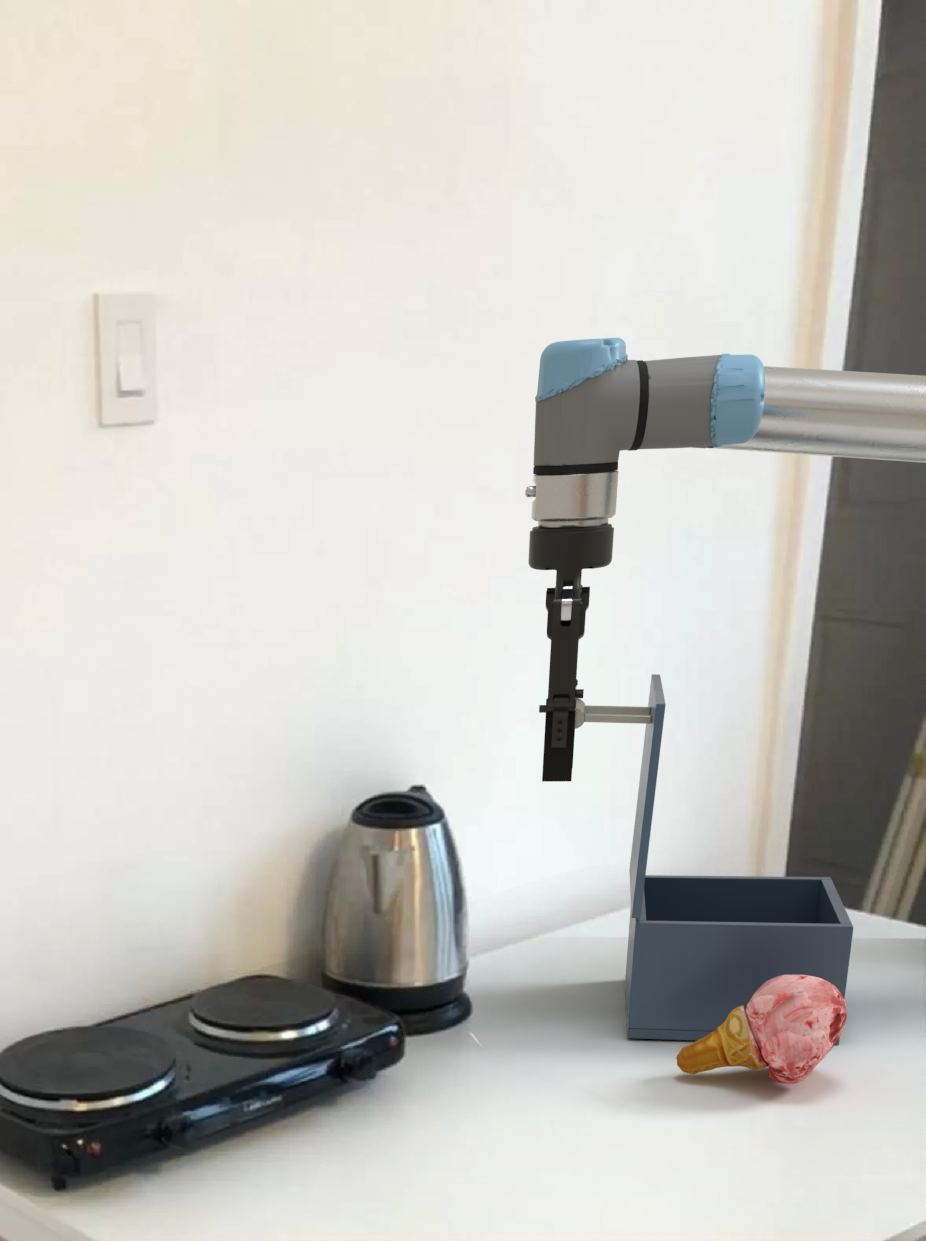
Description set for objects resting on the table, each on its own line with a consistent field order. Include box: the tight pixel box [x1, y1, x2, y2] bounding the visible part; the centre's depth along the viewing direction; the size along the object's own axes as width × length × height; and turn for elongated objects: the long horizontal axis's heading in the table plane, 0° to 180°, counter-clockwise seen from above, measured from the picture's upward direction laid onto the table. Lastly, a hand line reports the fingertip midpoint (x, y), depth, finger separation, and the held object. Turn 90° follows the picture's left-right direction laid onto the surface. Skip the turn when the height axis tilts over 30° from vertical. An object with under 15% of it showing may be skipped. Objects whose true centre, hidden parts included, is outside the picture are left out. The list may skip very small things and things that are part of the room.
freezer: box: [624, 874, 854, 1046], centre depth 176 cm, size 19×19×12 cm
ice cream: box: [676, 975, 848, 1085], centre depth 160 cm, size 11×10×15 cm
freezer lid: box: [574, 673, 666, 918], centre depth 173 cm, size 20×19×9 cm
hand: (557, 773), depth 174 cm, fingers closed on freezer lid, 6 cm apart
